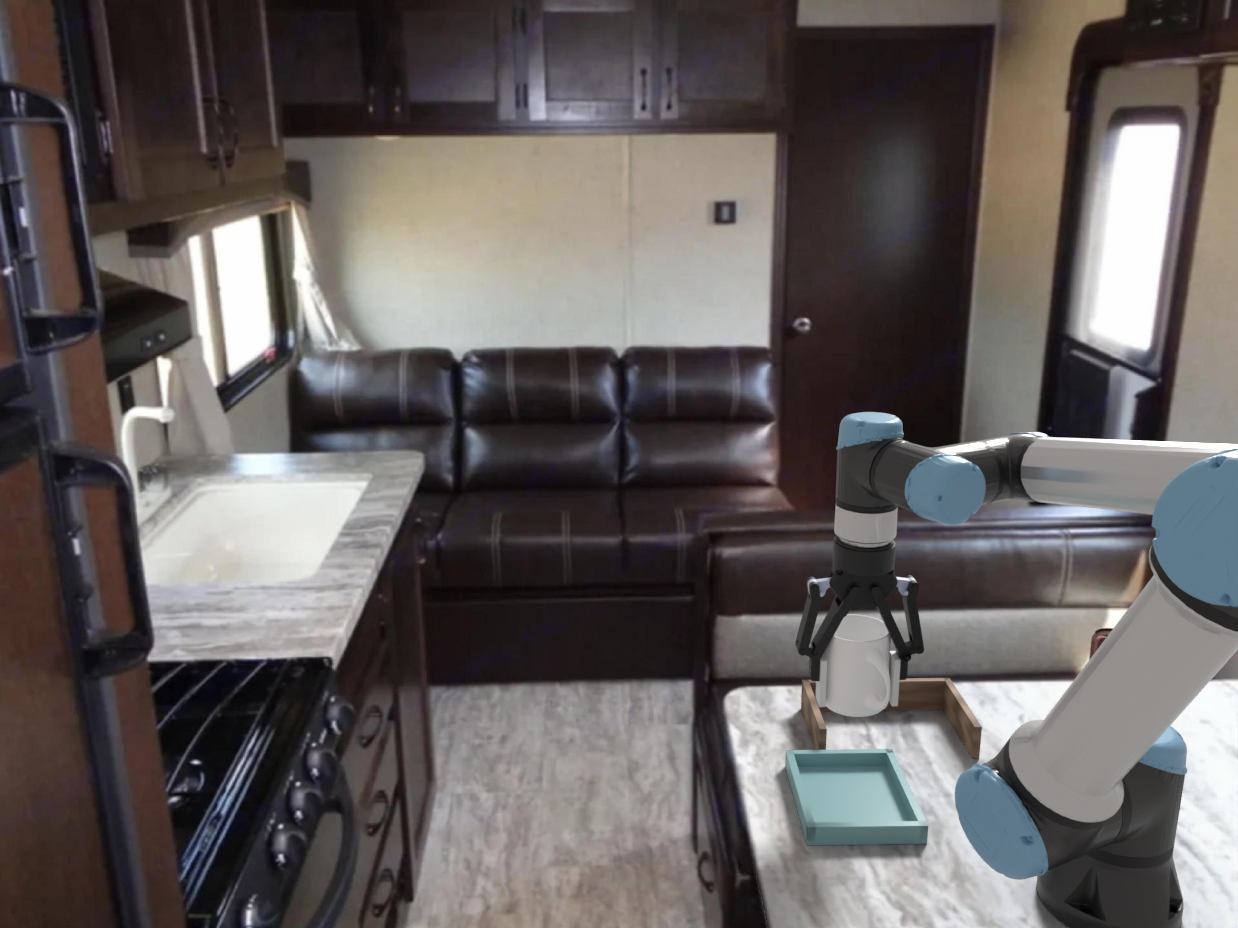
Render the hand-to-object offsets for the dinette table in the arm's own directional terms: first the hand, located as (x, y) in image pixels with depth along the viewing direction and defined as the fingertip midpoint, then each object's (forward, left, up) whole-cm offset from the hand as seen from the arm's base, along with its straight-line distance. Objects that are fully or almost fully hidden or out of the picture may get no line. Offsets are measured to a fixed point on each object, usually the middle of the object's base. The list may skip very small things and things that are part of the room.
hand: (856, 701), depth 134 cm
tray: (0, 0, -15) cm, 15 cm away
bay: (+18, -9, -15) cm, 25 cm away
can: (+21, -43, -15) cm, 50 cm away
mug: (0, -1, -1) cm, 1 cm away
